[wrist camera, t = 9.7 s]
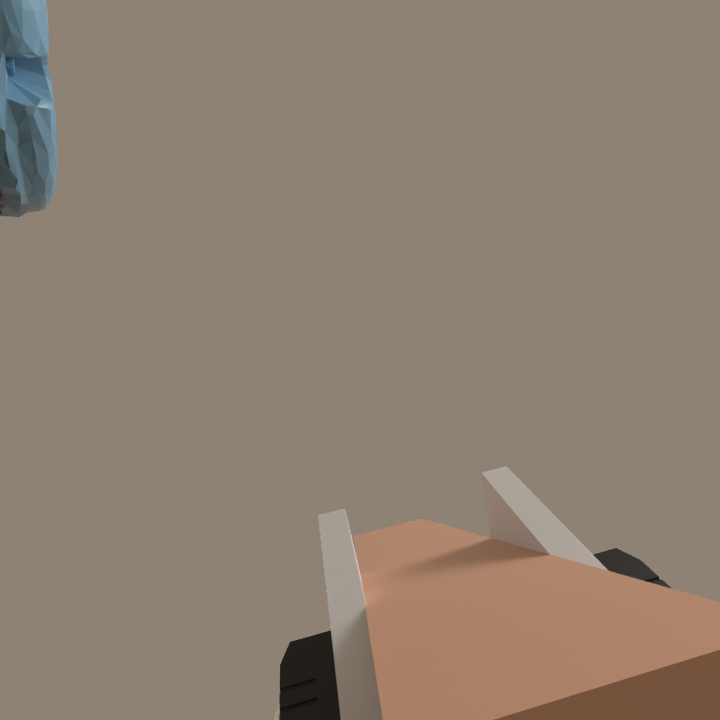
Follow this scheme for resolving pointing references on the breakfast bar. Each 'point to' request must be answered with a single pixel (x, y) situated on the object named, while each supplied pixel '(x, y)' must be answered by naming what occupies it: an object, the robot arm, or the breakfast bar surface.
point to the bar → (528, 634)
